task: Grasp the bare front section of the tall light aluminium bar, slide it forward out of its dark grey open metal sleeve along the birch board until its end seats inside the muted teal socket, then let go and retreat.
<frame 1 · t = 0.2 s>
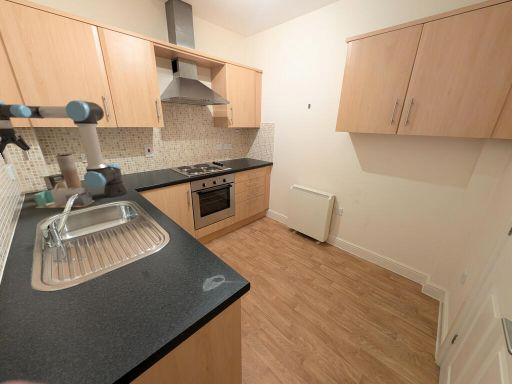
hand: (17, 162, 131), 28 cm above the worktop, fingers open, 13 cm apart
socket: (47, 204, 134), resting on board
sleeve: (80, 204, 135), resting on board
board: (66, 204, 134), on the worktop
coffee box: (60, 196, 149), on the worktop
tube: (70, 196, 133), point 6 cm above the worktop, slide at 0.0 cm
vase: (74, 188, 168), on the worktop
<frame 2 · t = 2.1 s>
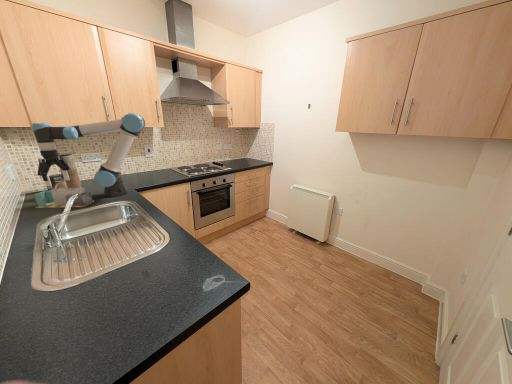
hand: (58, 182, 129), 15 cm above the worktop, fingers open, 13 cm apart
nothing on the worktop moved.
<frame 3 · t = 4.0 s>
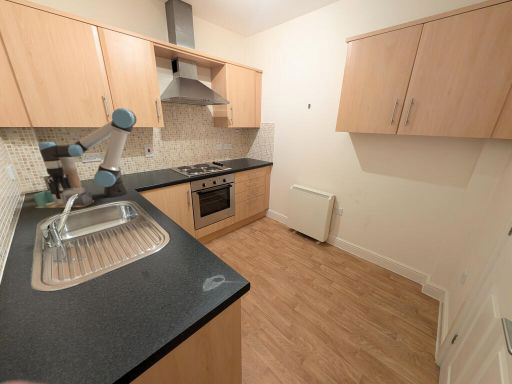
hand: (65, 201, 134), 2 cm above the worktop, fingers closed on tube, 5 cm apart
tube: (70, 196, 133), point 6 cm above the worktop, slide at 0.0 cm, touching gripper
everything else where it was.
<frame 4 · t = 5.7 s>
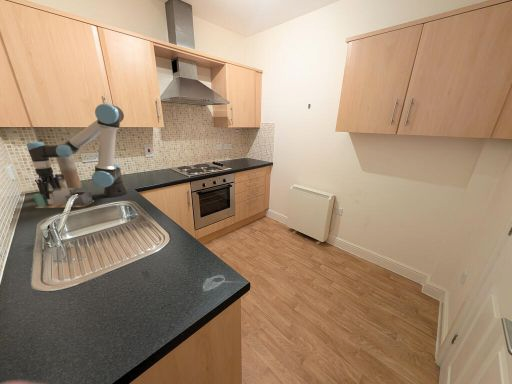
hand: (55, 201, 133), 2 cm above the worktop, fingers closed on tube, 5 cm apart
tube: (60, 196, 132), point 6 cm above the worktop, slide at 6.4 cm, touching gripper
everything else where it was.
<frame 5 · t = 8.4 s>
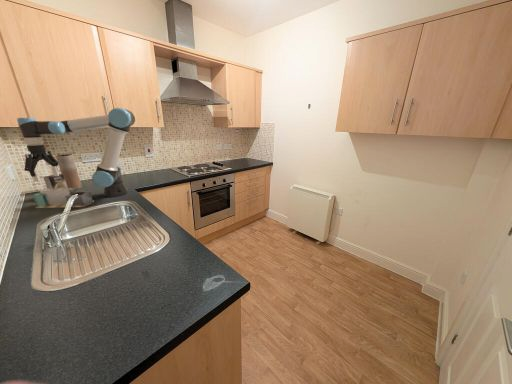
hand: (47, 178, 128), 18 cm above the worktop, fingers open, 13 cm apart
tube: (60, 196, 132), point 6 cm above the worktop, slide at 6.5 cm
everything else where it was.
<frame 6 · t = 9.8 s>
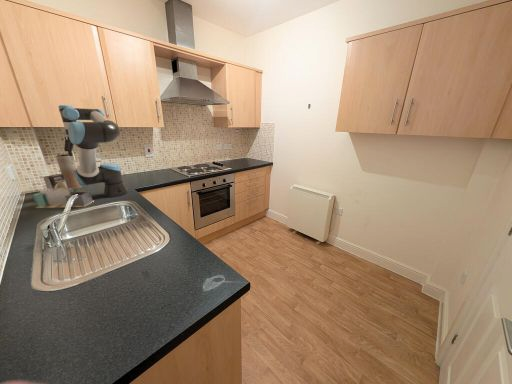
hand: (80, 158, 149), 27 cm above the worktop, fingers open, 13 cm apart
nothing on the worktop moved.
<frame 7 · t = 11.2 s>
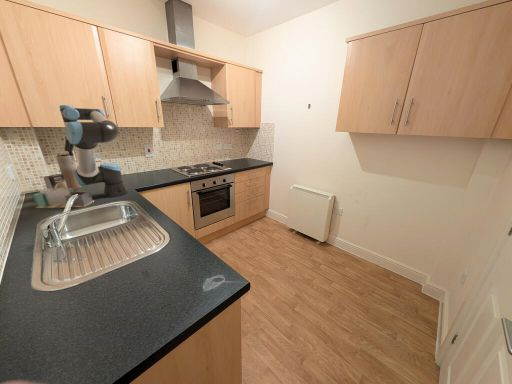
hand: (81, 158, 149), 27 cm above the worktop, fingers open, 13 cm apart
nothing on the worktop moved.
at the end: tube slide at 6.5 cm; tube 0.8 cm off-centre on the socket, point 5.8 cm above the socket's base; the gripper is holding nothing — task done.
